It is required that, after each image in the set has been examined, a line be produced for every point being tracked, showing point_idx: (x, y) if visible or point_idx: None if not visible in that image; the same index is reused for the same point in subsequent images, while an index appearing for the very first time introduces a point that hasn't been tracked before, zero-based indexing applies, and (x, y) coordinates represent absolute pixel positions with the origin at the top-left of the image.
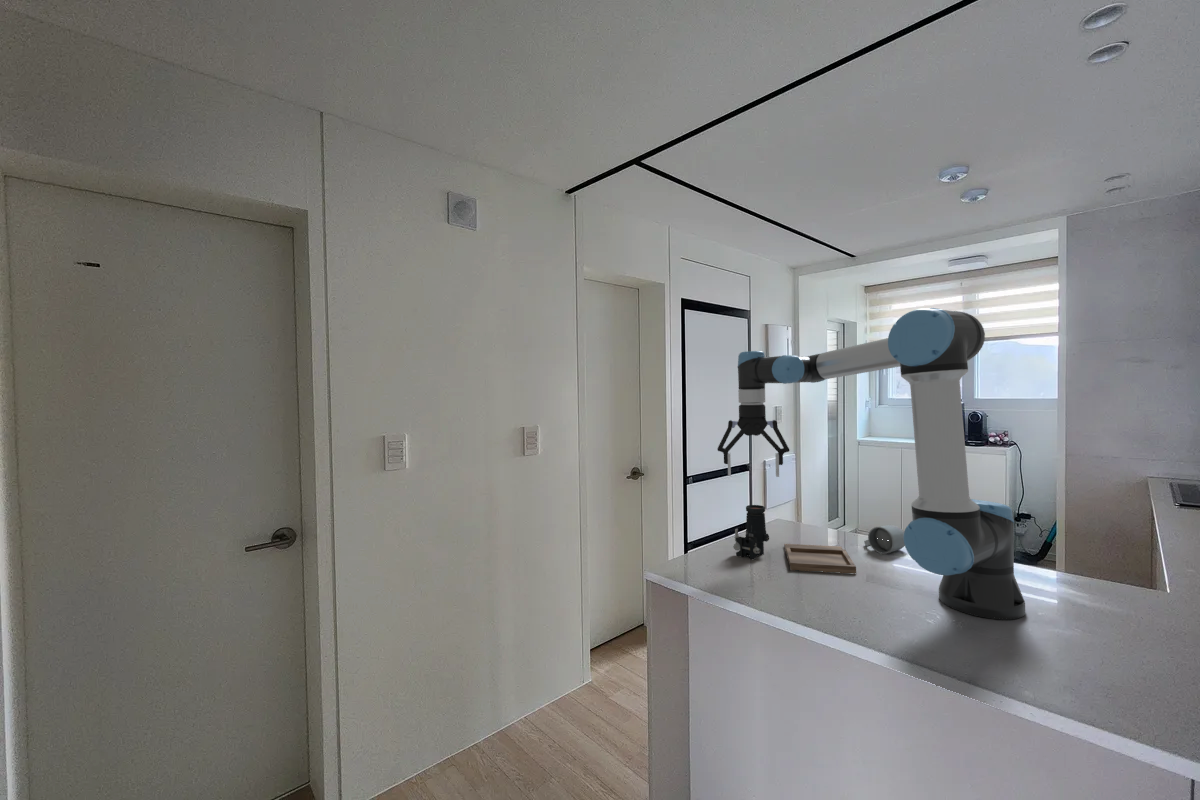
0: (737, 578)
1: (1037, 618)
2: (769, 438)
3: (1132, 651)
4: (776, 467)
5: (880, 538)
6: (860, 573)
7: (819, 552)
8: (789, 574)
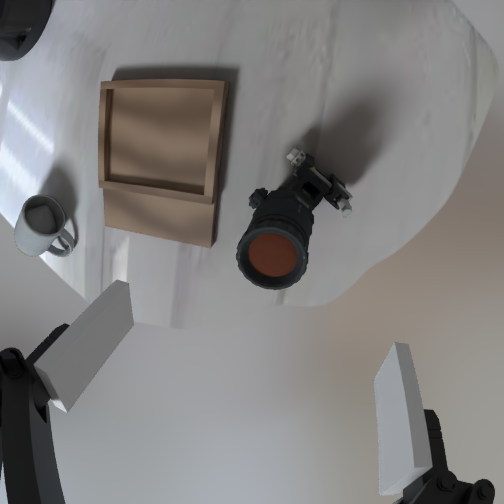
0: (366, 32)
1: None
2: (16, 494)
3: None
4: (97, 313)
5: (43, 223)
6: None
7: (146, 184)
8: (238, 56)
